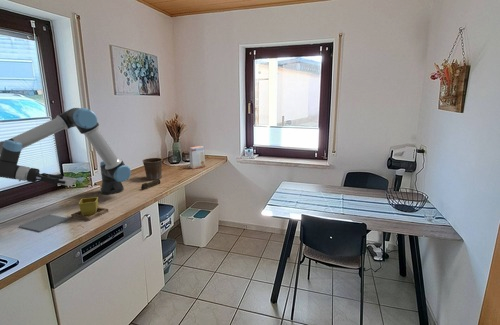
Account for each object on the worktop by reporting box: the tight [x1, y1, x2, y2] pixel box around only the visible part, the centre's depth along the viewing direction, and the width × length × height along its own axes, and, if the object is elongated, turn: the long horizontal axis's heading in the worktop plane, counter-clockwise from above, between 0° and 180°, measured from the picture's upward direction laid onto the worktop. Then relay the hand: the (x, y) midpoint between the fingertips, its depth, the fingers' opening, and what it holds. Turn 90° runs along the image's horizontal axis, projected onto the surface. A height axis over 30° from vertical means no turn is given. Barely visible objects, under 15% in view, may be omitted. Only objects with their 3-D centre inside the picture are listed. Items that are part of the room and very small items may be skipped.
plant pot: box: [142, 157, 163, 181], centre depth 231 cm, size 16×16×16 cm
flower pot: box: [78, 196, 99, 217], centre depth 158 cm, size 9×9×9 cm
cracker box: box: [188, 145, 206, 170], centre depth 268 cm, size 14×6×21 cm, turn 130°
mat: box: [18, 214, 70, 233], centre depth 148 cm, size 16×16×1 cm
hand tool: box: [140, 179, 161, 191], centre depth 210 cm, size 19×4×5 cm, turn 155°
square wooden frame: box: [70, 206, 109, 222], centre depth 159 cm, size 13×13×2 cm
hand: (74, 182), depth 155 cm, fingers open, 13 cm apart
